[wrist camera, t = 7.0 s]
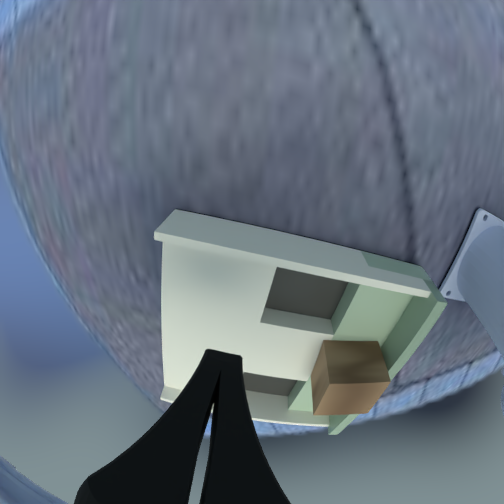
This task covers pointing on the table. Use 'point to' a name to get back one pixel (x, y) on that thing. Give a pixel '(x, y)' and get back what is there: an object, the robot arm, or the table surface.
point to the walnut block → (348, 377)
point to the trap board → (281, 309)
